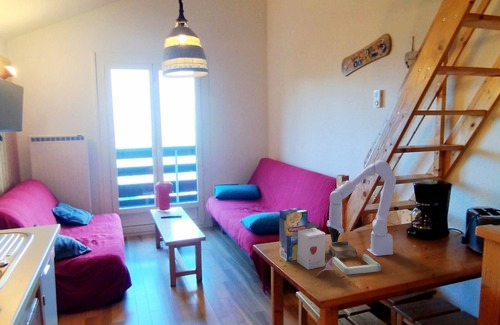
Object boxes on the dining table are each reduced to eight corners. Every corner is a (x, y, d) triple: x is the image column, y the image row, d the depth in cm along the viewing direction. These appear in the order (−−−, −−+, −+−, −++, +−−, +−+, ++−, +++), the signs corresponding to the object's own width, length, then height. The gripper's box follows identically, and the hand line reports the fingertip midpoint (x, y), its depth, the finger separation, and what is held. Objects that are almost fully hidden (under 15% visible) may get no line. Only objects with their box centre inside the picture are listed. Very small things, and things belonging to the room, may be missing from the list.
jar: (309, 254, 172) (309, 229, 171) (297, 248, 179) (298, 225, 177) (323, 249, 177) (323, 226, 176) (311, 244, 184) (311, 221, 182)
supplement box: (307, 270, 155) (308, 236, 153) (296, 262, 163) (297, 229, 161) (325, 266, 159) (326, 233, 157) (313, 258, 167) (314, 227, 165)
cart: (350, 251, 175) (350, 240, 175) (357, 257, 169) (357, 246, 168) (328, 253, 173) (328, 242, 172) (334, 259, 166) (334, 248, 166)
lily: (335, 270, 157) (324, 250, 157) (354, 270, 147) (342, 248, 147) (316, 286, 151) (305, 265, 151) (335, 287, 140) (322, 264, 141)
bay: (365, 259, 166) (365, 254, 165) (380, 270, 154) (380, 265, 153) (332, 262, 163) (332, 257, 162) (345, 274, 150) (345, 268, 150)
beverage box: (307, 257, 169) (308, 211, 165) (286, 261, 164) (287, 214, 161) (299, 252, 175) (299, 207, 172) (279, 256, 170) (279, 210, 167)
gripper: (321, 212, 183) (321, 238, 185) (334, 220, 169) (333, 248, 171) (334, 211, 184) (334, 237, 186) (348, 219, 170) (347, 247, 172)
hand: (334, 242), depth 179 cm, fingers closed
